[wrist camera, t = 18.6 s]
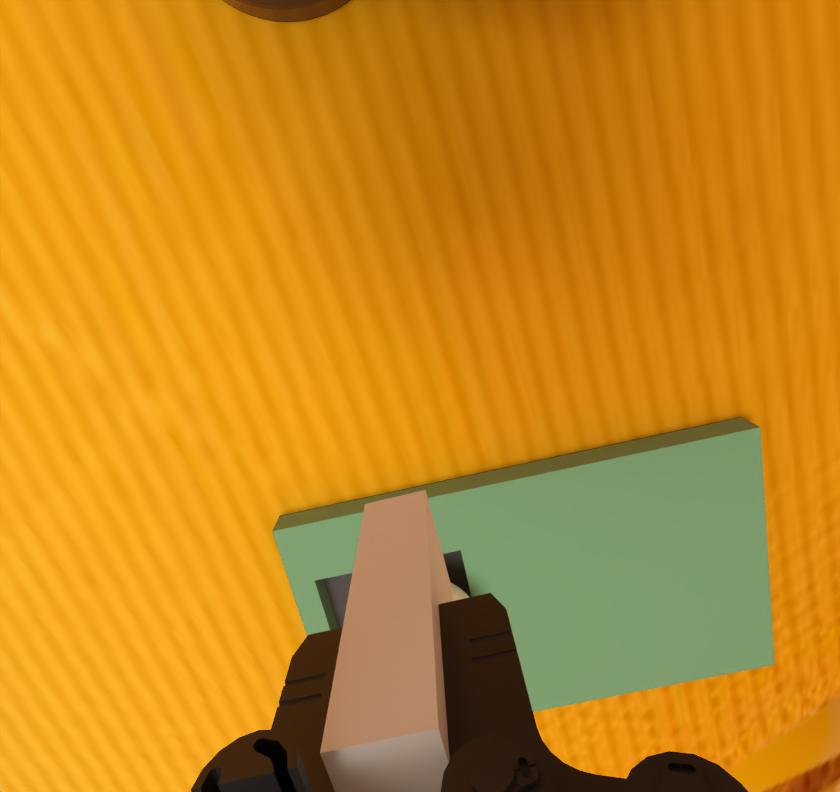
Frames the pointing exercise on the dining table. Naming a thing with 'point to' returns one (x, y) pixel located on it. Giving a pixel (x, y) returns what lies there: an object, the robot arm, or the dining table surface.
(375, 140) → the dining table surface
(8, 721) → the dining table surface
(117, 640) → the dining table surface
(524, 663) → the putting board
